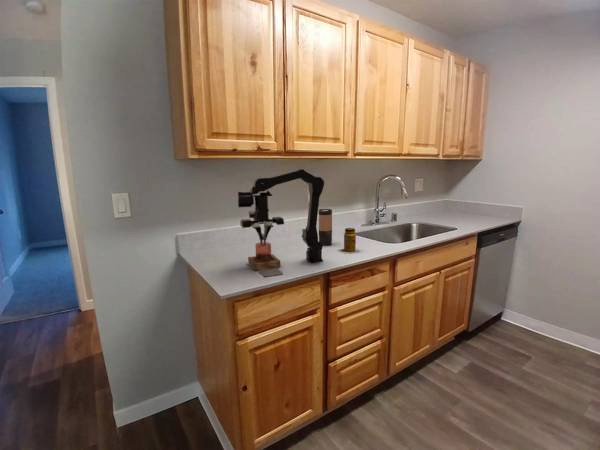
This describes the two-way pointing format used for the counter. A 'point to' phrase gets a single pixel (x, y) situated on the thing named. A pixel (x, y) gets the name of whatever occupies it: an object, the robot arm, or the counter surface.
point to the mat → (270, 272)
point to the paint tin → (263, 249)
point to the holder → (264, 263)
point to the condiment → (349, 241)
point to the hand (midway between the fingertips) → (263, 240)
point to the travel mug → (325, 227)
